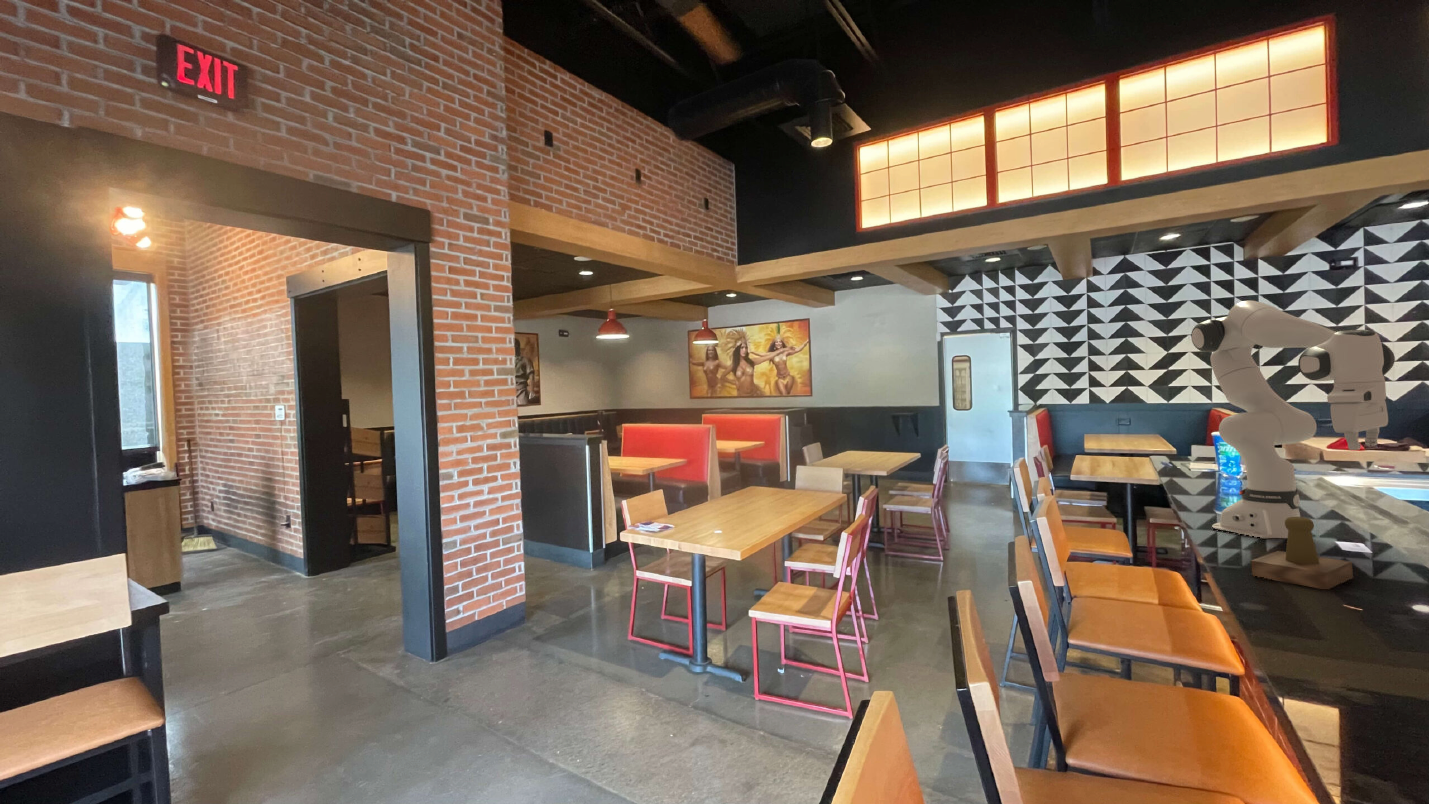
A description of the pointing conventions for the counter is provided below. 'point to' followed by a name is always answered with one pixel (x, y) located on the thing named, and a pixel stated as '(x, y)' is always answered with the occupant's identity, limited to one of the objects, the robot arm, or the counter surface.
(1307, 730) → the counter surface
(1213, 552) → the counter surface
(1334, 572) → the walnut riser block
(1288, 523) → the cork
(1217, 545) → the counter surface
